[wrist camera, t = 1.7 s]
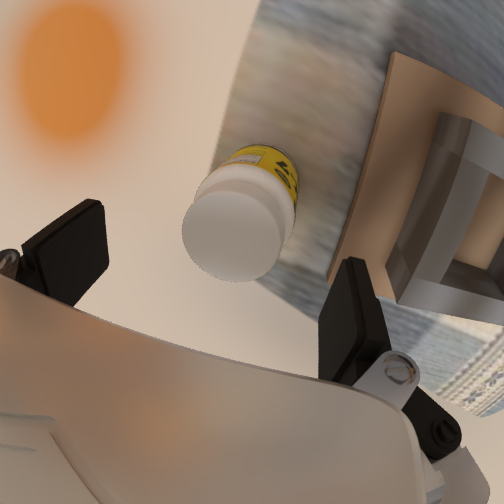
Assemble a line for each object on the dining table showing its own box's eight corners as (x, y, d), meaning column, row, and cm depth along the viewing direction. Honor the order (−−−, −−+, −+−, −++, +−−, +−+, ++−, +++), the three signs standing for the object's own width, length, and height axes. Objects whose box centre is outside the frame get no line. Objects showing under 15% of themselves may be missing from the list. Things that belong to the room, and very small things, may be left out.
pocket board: (564, 161, 11) (601, 184, 7) (493, 313, 20) (512, 351, 16) (390, 53, 12) (420, 41, 8) (326, 275, 21) (328, 323, 17)
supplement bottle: (304, 208, 19) (299, 288, 12) (235, 217, 20) (193, 294, 13) (291, 136, 16) (279, 171, 9) (218, 149, 18) (156, 194, 11)
